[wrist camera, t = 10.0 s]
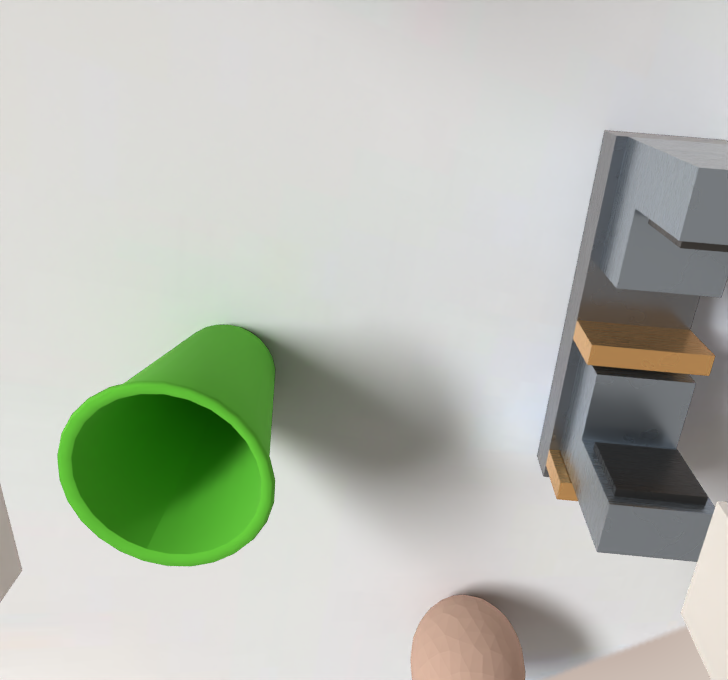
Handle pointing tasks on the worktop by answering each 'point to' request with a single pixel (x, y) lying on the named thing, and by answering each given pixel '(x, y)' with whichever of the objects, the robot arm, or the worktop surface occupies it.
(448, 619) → the egg
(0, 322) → the worktop surface
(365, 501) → the worktop surface
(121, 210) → the worktop surface
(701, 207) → the rail
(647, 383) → the l-shaped step block
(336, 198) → the worktop surface
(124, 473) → the cup
